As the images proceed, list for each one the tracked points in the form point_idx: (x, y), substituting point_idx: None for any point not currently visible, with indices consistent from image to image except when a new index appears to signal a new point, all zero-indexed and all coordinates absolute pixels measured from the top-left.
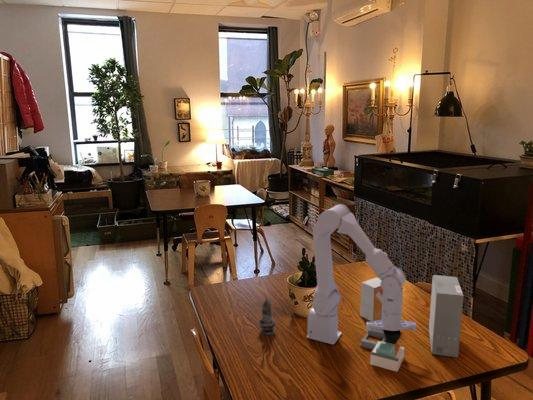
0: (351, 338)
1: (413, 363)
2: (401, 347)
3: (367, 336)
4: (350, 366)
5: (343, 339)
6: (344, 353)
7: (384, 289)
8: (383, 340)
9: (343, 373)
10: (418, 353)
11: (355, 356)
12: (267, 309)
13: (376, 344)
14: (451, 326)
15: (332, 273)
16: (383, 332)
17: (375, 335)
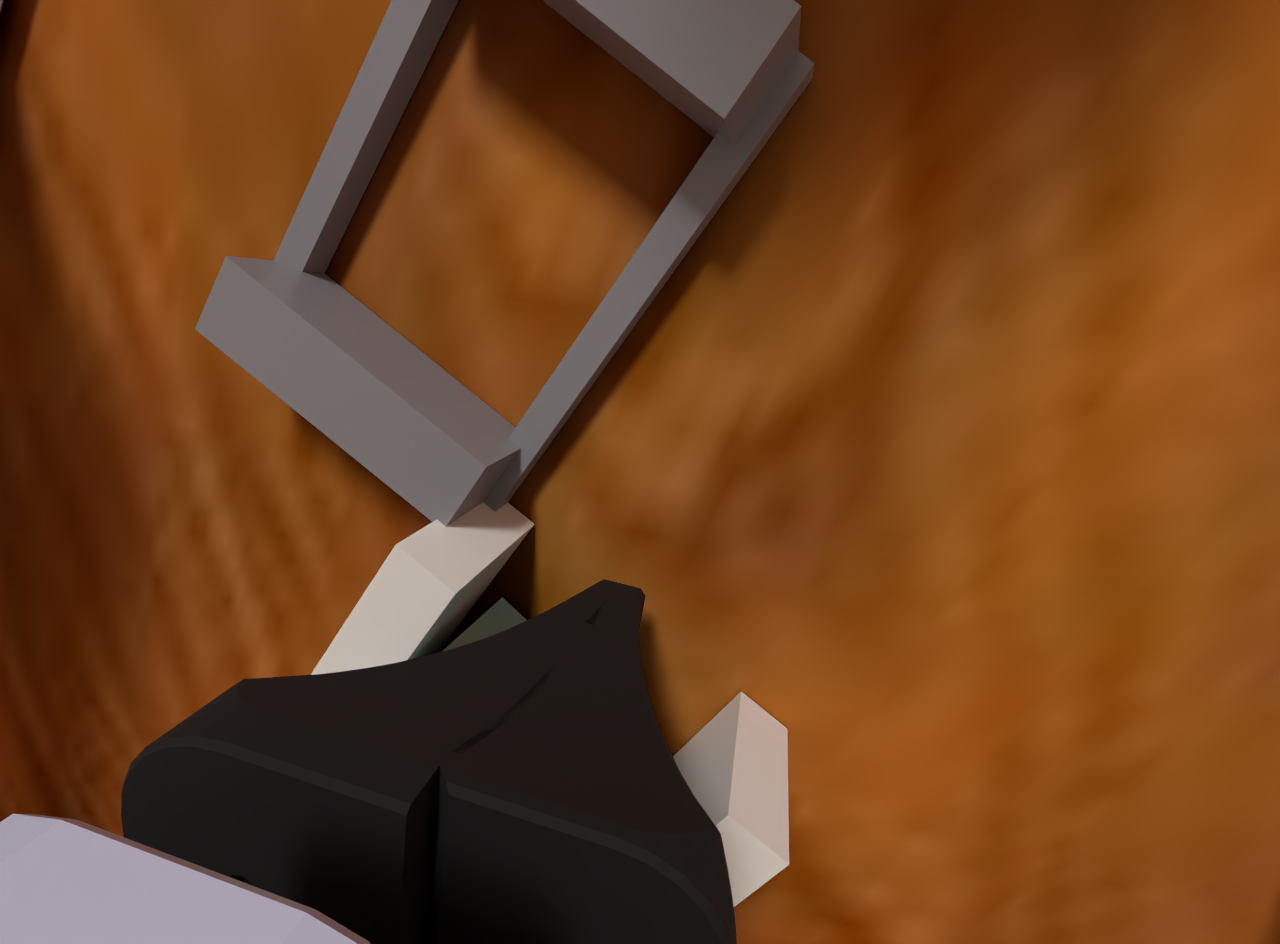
0: (186, 50)
1: (843, 872)
2: (737, 842)
3: (435, 25)
4: (131, 692)
5: (75, 71)
6: (83, 449)
7: None
8: (656, 261)
9: (70, 764)
10: (1092, 711)
11: (194, 540)
12: None
13: (341, 631)
14: None
15: None
16: (710, 54)
17: (580, 22)
